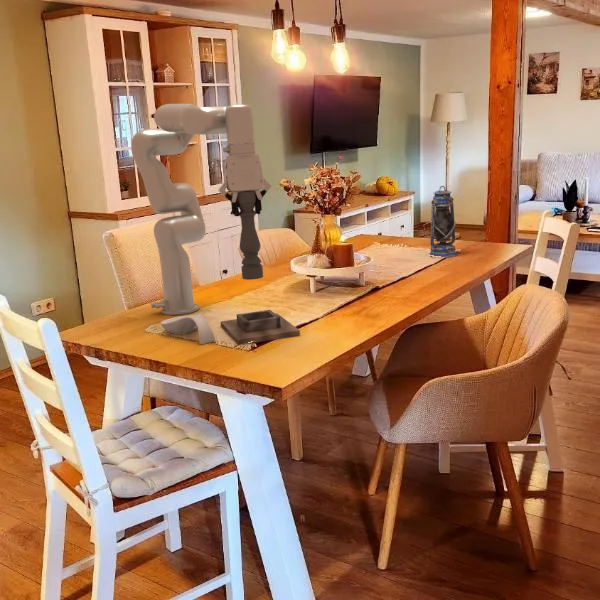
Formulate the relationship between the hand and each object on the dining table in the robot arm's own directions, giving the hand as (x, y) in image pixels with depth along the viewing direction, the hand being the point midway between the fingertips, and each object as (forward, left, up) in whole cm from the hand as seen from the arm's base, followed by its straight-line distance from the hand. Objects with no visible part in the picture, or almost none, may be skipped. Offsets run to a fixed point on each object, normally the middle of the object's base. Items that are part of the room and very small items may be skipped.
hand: (247, 214), depth 198 cm
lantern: (+104, +70, -34) cm, 130 cm away
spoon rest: (-19, +3, -34) cm, 40 cm away
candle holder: (0, 0, -19) cm, 19 cm away
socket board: (0, -3, -34) cm, 34 cm away
